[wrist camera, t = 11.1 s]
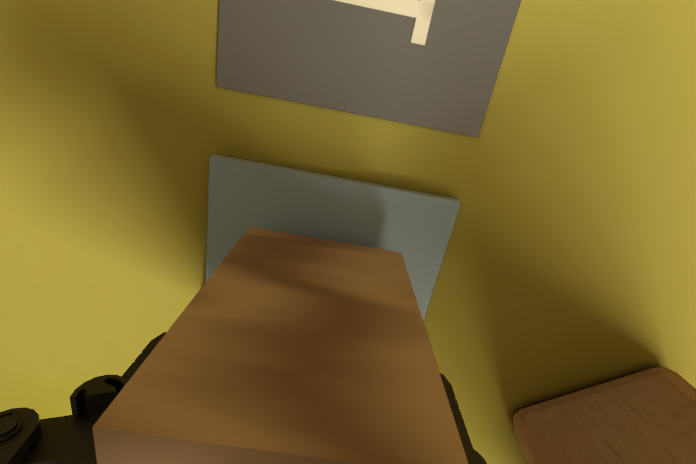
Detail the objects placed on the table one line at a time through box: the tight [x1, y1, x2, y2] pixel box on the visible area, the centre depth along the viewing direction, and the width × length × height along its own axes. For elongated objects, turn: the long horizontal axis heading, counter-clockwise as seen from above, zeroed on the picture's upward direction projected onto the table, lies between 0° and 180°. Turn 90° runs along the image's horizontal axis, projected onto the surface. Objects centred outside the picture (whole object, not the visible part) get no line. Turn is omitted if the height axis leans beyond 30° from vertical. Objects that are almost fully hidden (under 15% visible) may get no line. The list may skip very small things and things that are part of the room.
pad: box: [205, 154, 461, 320], centre depth 18 cm, size 12×12×1 cm
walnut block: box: [92, 226, 468, 464], centre depth 12 cm, size 7×7×10 cm
